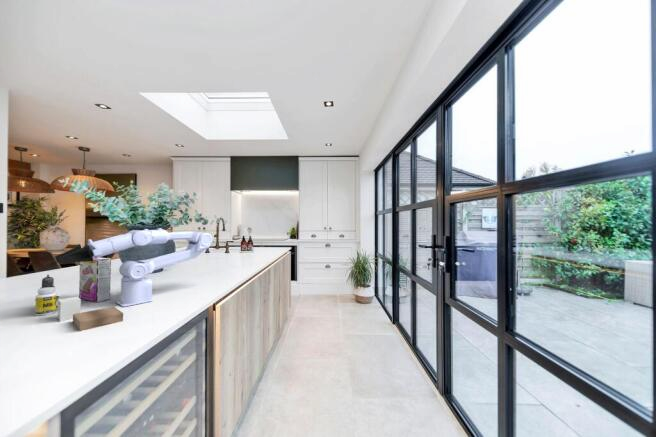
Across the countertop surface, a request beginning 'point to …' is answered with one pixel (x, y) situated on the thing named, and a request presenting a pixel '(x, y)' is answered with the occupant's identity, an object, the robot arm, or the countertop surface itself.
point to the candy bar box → (95, 280)
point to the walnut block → (97, 318)
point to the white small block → (68, 308)
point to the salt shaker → (48, 284)
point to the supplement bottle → (45, 301)
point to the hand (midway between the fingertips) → (58, 260)
